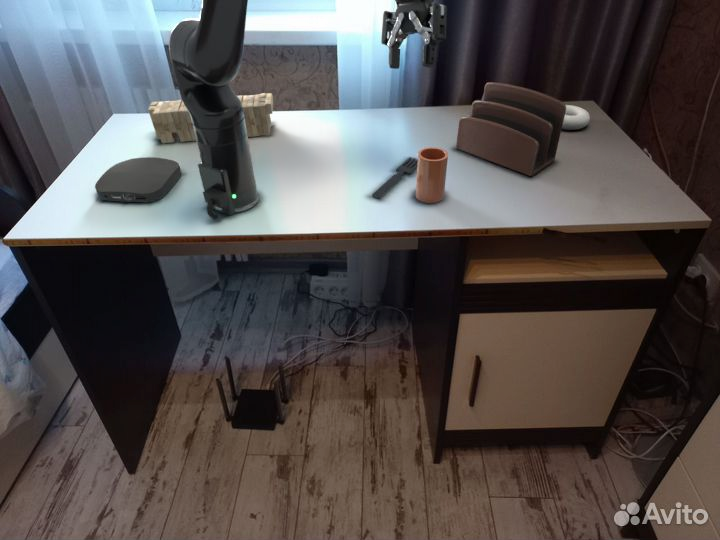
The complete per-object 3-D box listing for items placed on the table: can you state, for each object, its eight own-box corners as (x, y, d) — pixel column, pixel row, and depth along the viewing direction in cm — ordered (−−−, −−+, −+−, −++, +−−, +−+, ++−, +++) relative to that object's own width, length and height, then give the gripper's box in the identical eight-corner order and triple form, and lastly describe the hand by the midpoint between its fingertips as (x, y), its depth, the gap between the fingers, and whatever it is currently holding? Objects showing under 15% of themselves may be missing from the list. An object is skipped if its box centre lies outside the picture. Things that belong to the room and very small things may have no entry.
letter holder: (479, 135, 122) (488, 76, 113) (555, 161, 111) (570, 98, 102) (454, 149, 117) (461, 88, 108) (531, 178, 106) (545, 113, 97)
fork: (383, 200, 101) (383, 197, 100) (368, 195, 102) (368, 193, 102) (423, 162, 112) (423, 160, 112) (409, 159, 114) (409, 156, 113)
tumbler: (436, 206, 99) (440, 163, 93) (410, 198, 101) (413, 156, 95) (448, 193, 102) (452, 151, 96) (423, 186, 105) (426, 144, 99)
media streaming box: (187, 169, 112) (184, 157, 110) (159, 205, 101) (155, 192, 99) (125, 167, 114) (121, 154, 112) (91, 201, 103) (86, 188, 101)
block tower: (156, 147, 123) (276, 135, 125) (145, 114, 118) (270, 102, 119) (162, 133, 129) (276, 122, 131) (152, 101, 124) (271, 89, 125)
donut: (596, 126, 125) (565, 112, 132) (600, 113, 123) (568, 99, 130) (567, 136, 121) (537, 121, 128) (571, 122, 119) (540, 107, 126)
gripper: (373, -25, 95) (371, 67, 100) (433, -39, 85) (426, 65, 90) (400, -18, 100) (396, 70, 105) (459, -30, 90) (452, 68, 95)
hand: (410, 67), depth 98 cm, fingers open, 8 cm apart
